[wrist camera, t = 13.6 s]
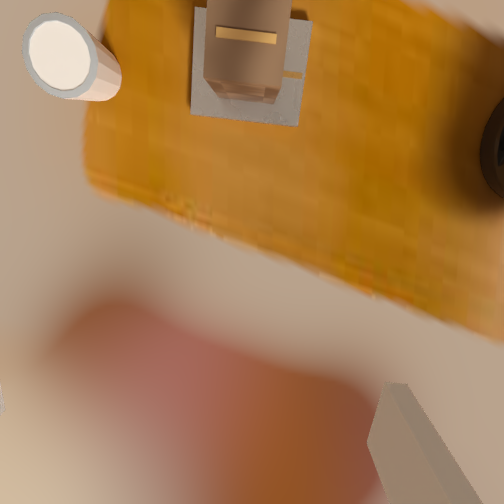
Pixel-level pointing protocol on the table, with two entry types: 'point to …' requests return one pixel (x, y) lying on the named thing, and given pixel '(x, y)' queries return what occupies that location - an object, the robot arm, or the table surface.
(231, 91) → the brown slotted box
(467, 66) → the table surface
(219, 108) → the grey stand base
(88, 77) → the white cup
